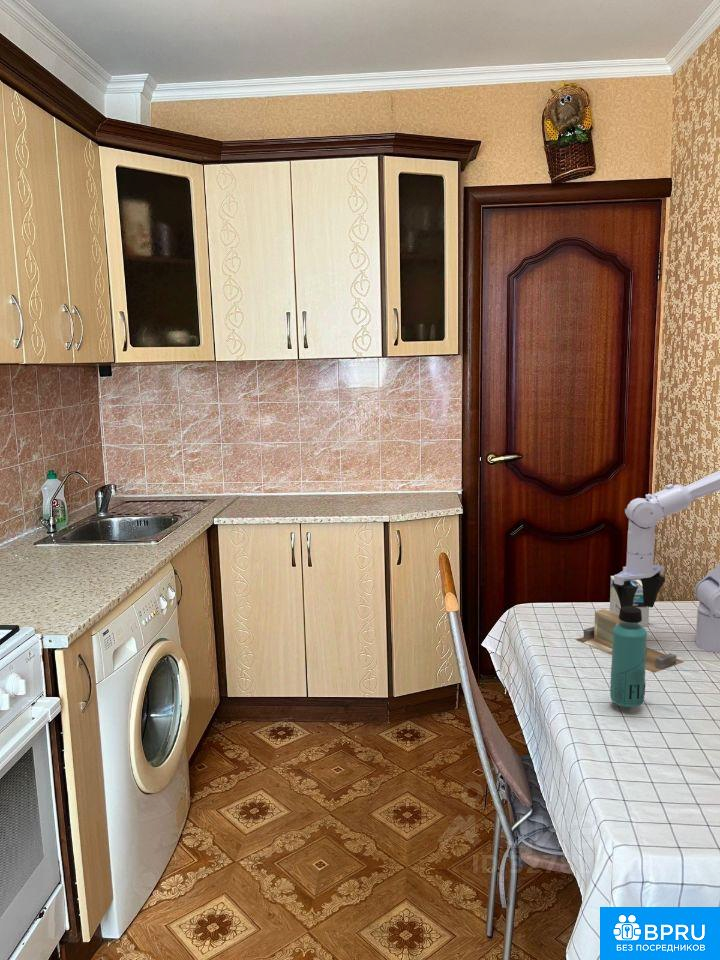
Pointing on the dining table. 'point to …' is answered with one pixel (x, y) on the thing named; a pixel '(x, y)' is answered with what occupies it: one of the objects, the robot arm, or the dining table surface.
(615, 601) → the light bulb box
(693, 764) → the dining table surface
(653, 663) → the brown board with blocks
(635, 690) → the beverage bottle
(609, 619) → the tall tan box
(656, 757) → the dining table surface
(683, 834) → the dining table surface
